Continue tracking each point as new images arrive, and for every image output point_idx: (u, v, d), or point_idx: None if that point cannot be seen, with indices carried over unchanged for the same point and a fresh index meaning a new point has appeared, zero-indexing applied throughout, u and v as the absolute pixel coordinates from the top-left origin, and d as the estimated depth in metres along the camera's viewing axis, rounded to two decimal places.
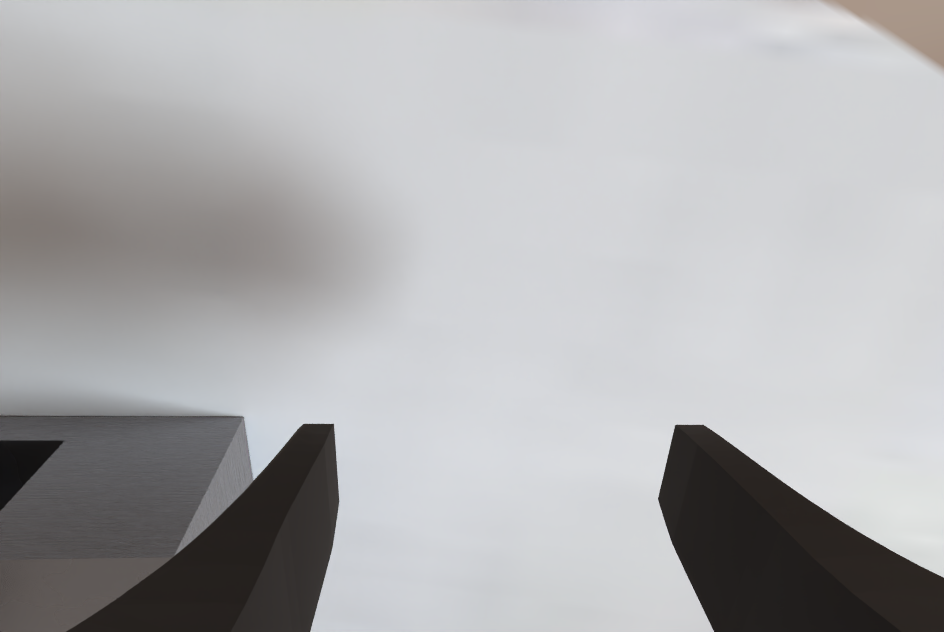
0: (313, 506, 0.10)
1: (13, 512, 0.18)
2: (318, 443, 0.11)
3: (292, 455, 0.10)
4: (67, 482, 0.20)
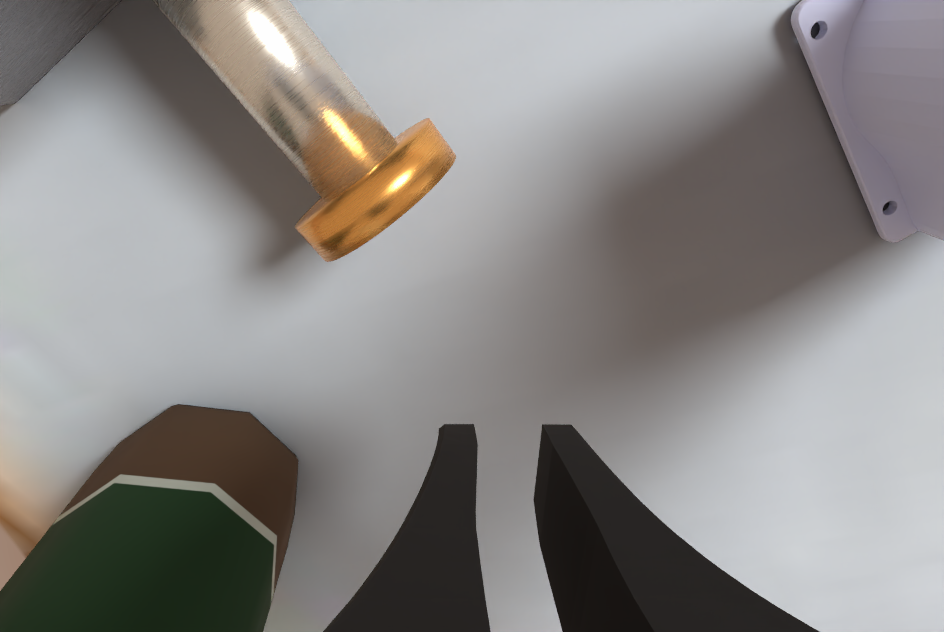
0: None
1: None
2: (471, 443, 0.11)
3: (452, 455, 0.10)
4: None
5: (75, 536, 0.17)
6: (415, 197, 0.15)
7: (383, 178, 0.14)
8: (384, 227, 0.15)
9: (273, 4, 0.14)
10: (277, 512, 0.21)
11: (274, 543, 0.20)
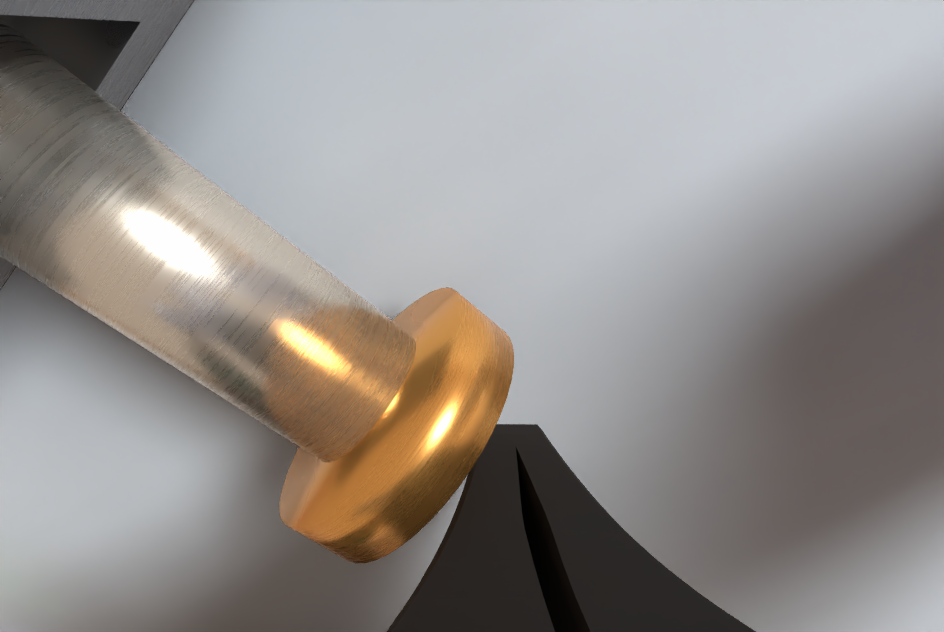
0: None
1: None
2: (508, 443, 0.11)
3: (491, 455, 0.10)
4: None
5: None
6: (462, 468, 0.08)
7: (401, 456, 0.08)
8: (418, 527, 0.08)
9: (157, 196, 0.08)
10: None
11: None
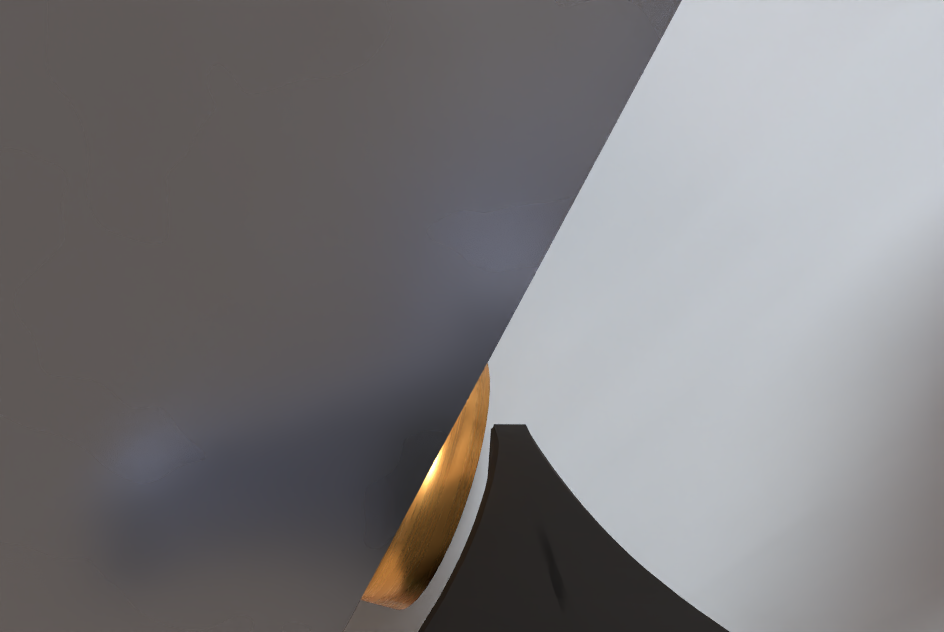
0: None
1: None
2: (528, 443, 0.11)
3: (511, 455, 0.11)
4: None
5: None
6: (456, 505, 0.09)
7: None
8: (434, 569, 0.09)
9: None
10: None
11: None
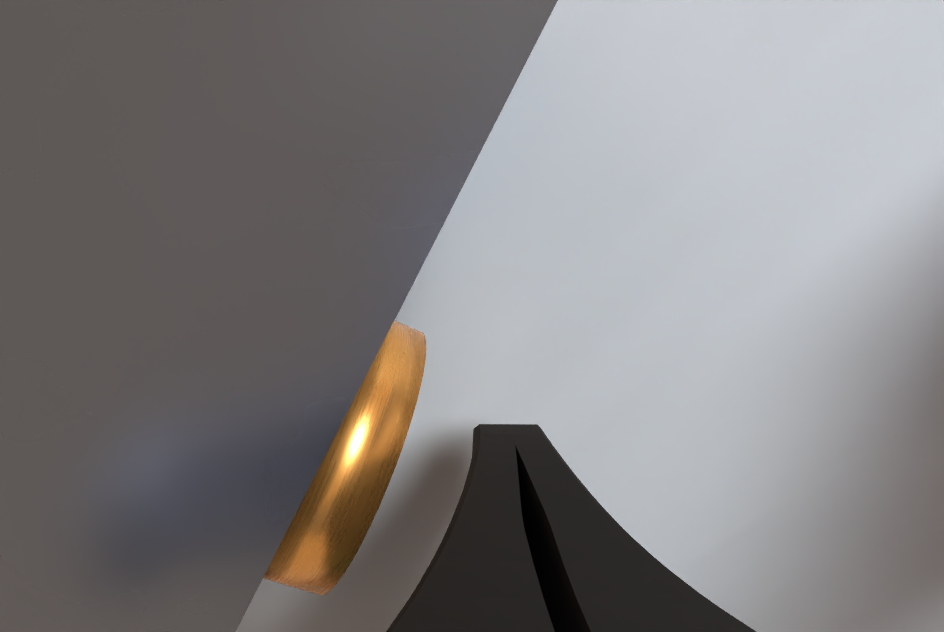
0: None
1: None
2: (508, 443, 0.11)
3: (491, 455, 0.10)
4: None
5: None
6: (378, 485, 0.08)
7: (311, 489, 0.08)
8: (353, 552, 0.08)
9: None
10: None
11: None
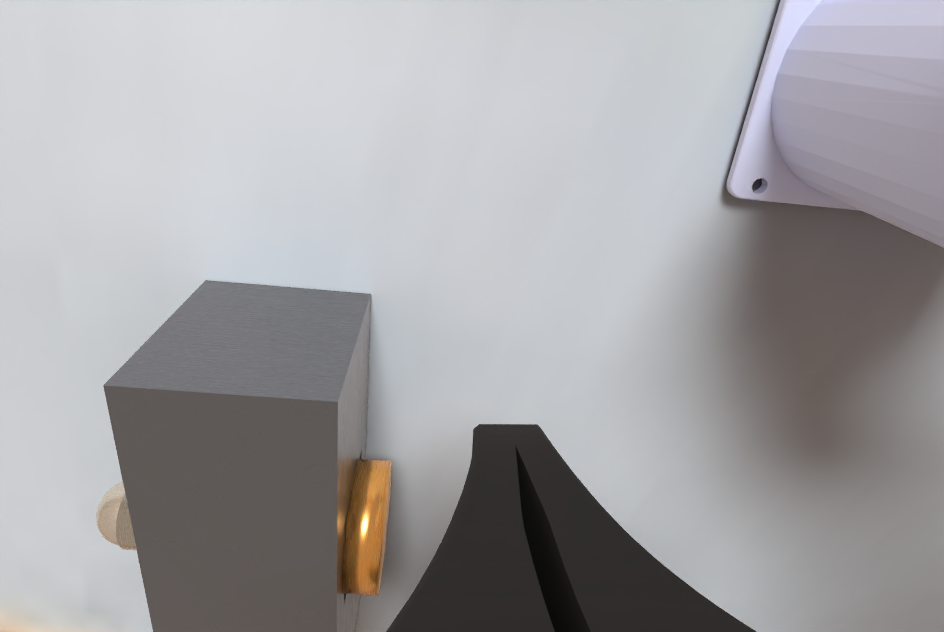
0: None
1: None
2: (508, 443, 0.11)
3: (491, 455, 0.10)
4: None
5: None
6: (376, 547, 0.20)
7: (350, 556, 0.20)
8: (377, 575, 0.20)
9: None
10: None
11: None
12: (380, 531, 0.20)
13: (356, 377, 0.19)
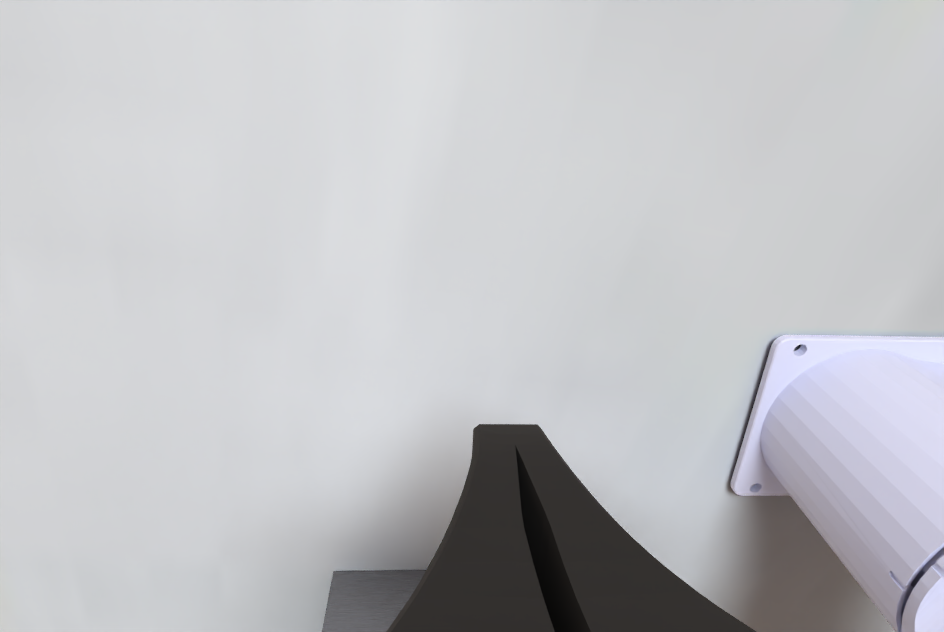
0: None
1: None
2: (508, 443, 0.11)
3: (491, 455, 0.10)
4: None
5: None
6: None
7: None
8: None
9: None
10: None
11: None
12: None
13: None
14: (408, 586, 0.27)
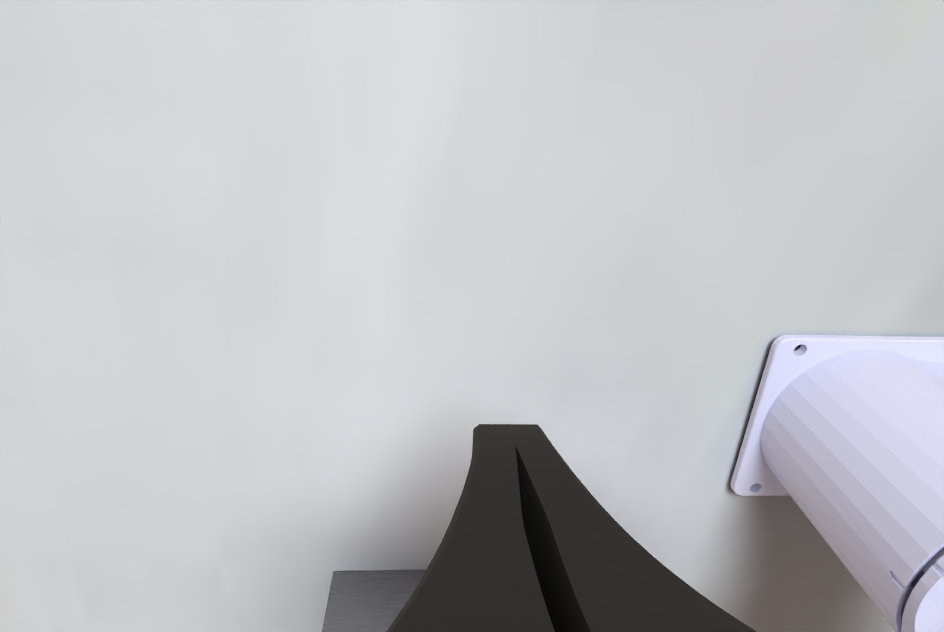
0: None
1: None
2: (508, 443, 0.11)
3: (491, 455, 0.10)
4: None
5: None
6: None
7: None
8: None
9: None
10: None
11: None
12: None
13: None
14: (408, 586, 0.27)
